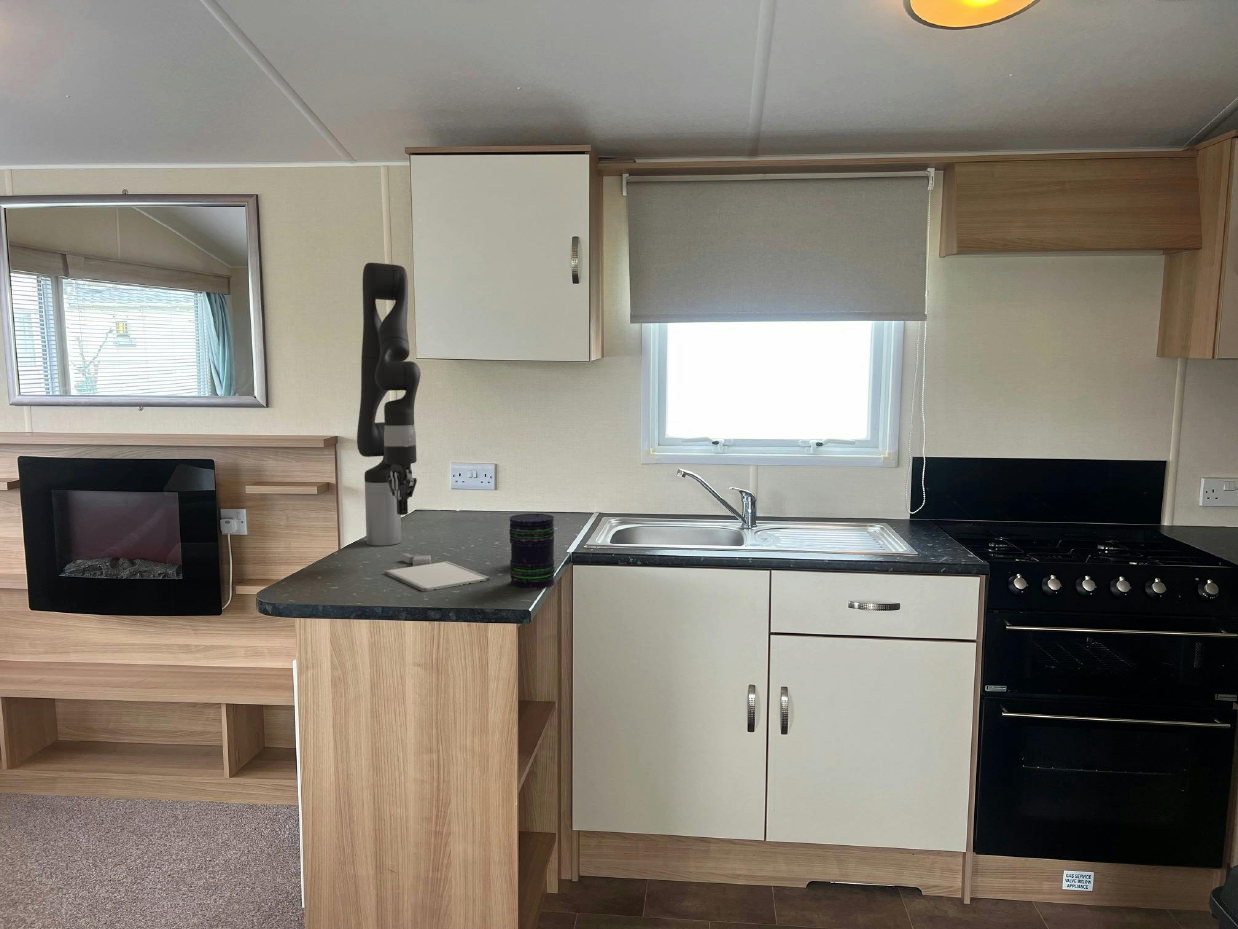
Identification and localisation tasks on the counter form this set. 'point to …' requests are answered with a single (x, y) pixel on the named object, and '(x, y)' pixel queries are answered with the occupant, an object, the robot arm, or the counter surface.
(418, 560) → the lighter
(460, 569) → the mat
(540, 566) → the storage jar
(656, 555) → the counter surface
